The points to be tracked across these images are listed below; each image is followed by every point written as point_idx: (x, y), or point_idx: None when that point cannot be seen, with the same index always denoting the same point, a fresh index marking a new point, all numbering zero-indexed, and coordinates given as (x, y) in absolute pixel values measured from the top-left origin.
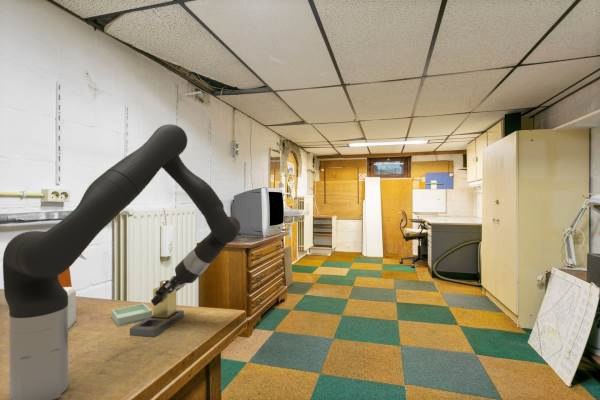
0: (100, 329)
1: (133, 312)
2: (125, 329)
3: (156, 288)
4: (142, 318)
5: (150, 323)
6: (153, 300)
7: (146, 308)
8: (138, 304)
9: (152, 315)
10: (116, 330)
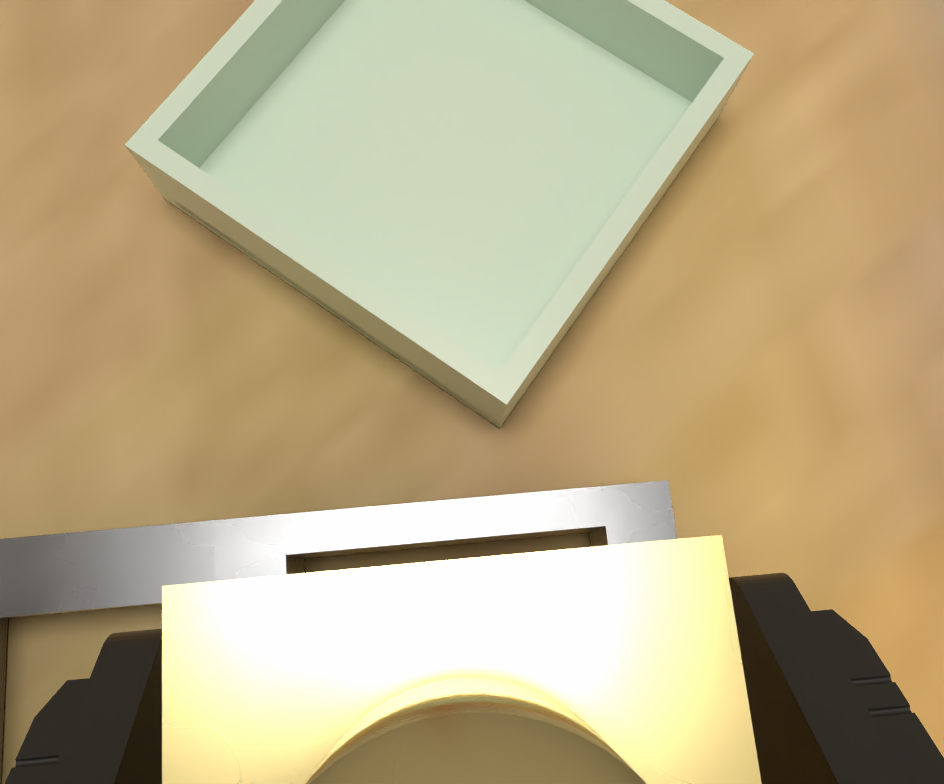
0: (55, 77)
1: (561, 76)
2: (95, 359)
3: (291, 621)
4: (397, 350)
5: None
6: (30, 763)
7: (605, 227)
8: (686, 17)
9: (387, 517)
10: (52, 274)
